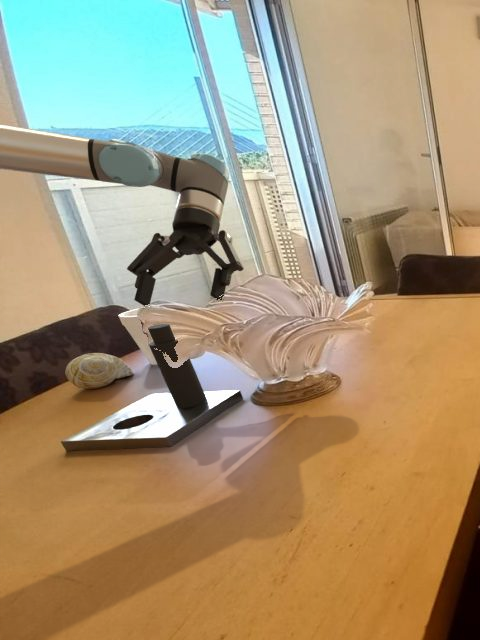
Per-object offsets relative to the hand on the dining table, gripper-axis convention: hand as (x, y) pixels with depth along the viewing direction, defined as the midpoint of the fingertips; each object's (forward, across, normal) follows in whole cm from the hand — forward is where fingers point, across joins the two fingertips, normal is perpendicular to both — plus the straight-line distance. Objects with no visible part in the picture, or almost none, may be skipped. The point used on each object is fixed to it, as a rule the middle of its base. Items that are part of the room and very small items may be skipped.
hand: (179, 300), depth 97 cm
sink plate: (+25, 0, -3) cm, 25 cm away
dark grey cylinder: (+21, -3, -4) cm, 22 cm away
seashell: (+8, +27, -20) cm, 35 cm away
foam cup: (-1, +22, -29) cm, 36 cm away
